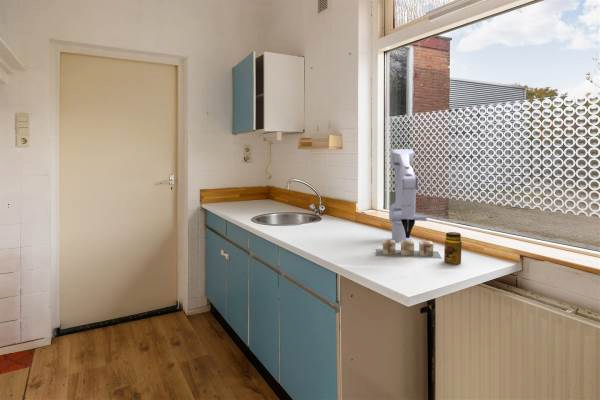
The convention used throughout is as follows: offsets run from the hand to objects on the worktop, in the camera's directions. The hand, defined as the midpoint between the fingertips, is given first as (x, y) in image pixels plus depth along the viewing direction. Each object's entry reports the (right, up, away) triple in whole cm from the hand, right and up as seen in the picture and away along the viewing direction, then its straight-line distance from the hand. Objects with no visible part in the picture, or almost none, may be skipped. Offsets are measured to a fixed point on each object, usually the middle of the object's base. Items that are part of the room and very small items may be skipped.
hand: (407, 237), depth 161 cm
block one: (-7, -7, +2) cm, 10 cm away
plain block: (0, -7, +1) cm, 7 cm away
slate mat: (0, -7, +1) cm, 7 cm away
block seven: (+7, -7, -1) cm, 10 cm away
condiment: (+14, -9, -12) cm, 21 cm away
